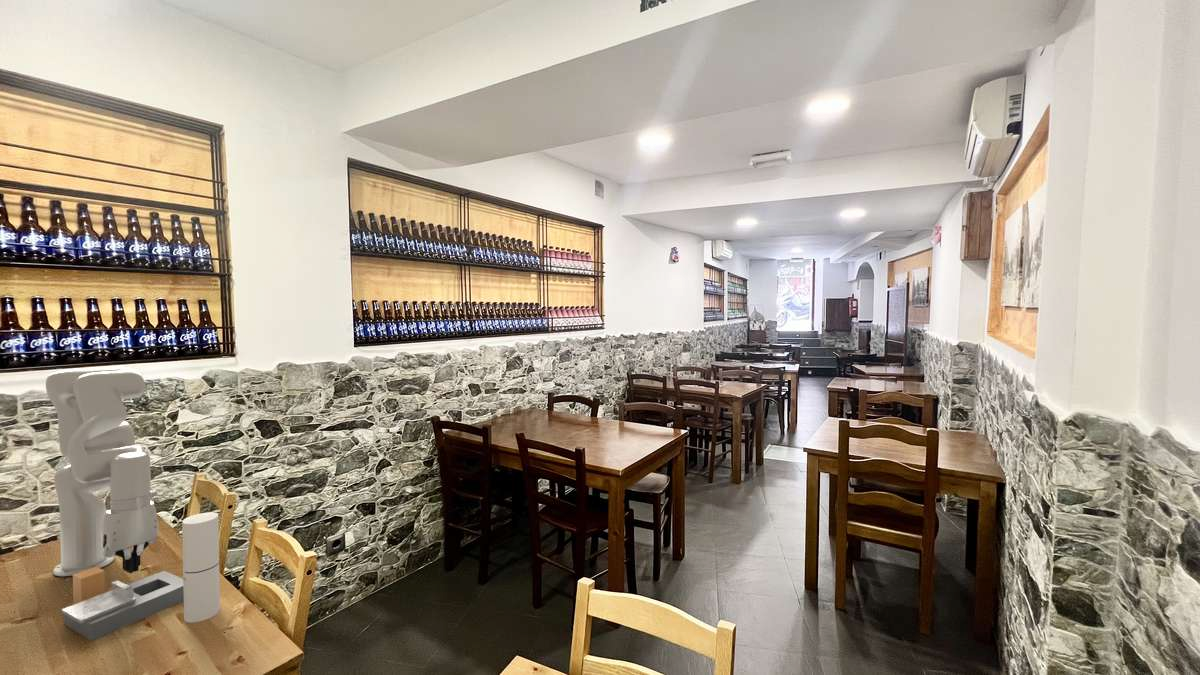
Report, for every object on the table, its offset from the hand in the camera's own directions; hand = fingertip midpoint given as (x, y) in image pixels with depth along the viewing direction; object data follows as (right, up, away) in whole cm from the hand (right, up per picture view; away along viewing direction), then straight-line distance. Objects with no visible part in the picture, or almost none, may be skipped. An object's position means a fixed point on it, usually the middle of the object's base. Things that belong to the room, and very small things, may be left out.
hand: (131, 570), depth 127 cm
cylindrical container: (+20, -11, -2) cm, 22 cm away
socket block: (0, -10, 0) cm, 10 cm away
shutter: (-2, -6, -6) cm, 9 cm away
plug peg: (-14, -10, +3) cm, 17 cm away
